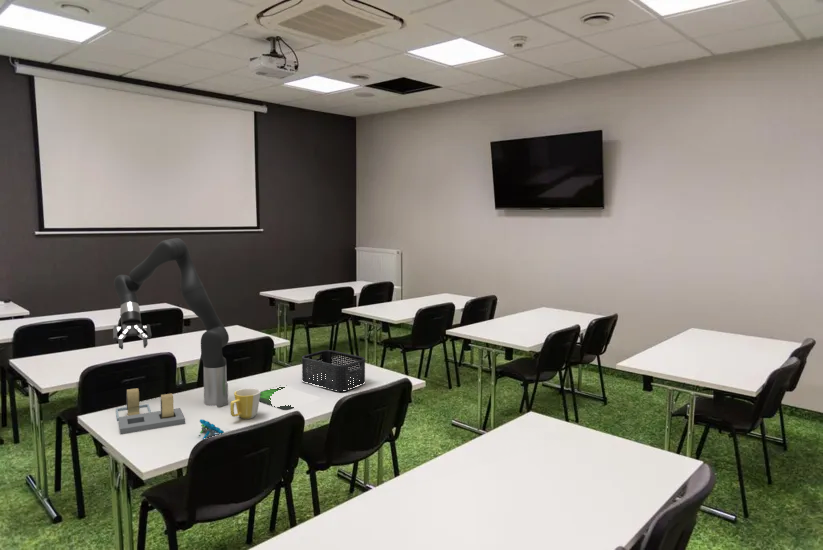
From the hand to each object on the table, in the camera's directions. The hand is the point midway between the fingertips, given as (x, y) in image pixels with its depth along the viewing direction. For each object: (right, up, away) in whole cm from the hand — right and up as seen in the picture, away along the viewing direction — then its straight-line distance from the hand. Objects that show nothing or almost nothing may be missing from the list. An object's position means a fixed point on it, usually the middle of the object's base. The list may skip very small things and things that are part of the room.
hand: (133, 347), depth 220 cm
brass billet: (+3, -26, -7) cm, 27 cm away
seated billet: (+20, -27, -13) cm, 36 cm away
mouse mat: (+58, -26, +20) cm, 67 cm away
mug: (+48, -28, -5) cm, 56 cm away
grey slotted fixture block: (+15, -28, -15) cm, 35 cm away
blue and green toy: (+41, -30, -24) cm, 57 cm away
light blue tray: (+3, -27, -6) cm, 28 cm away
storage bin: (+77, -24, +43) cm, 91 cm away
